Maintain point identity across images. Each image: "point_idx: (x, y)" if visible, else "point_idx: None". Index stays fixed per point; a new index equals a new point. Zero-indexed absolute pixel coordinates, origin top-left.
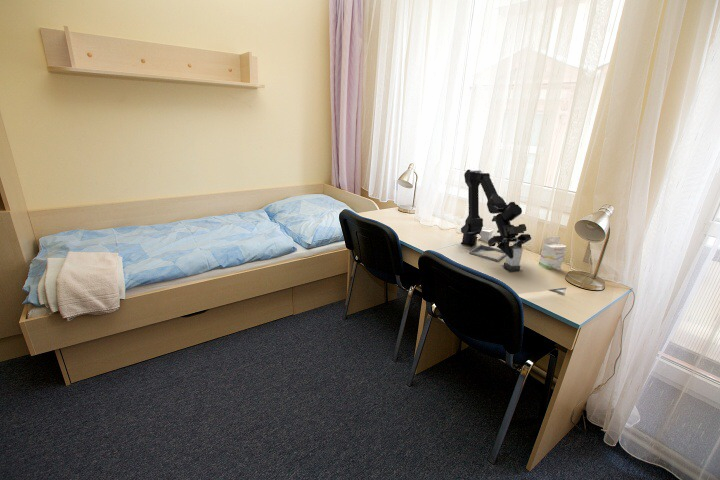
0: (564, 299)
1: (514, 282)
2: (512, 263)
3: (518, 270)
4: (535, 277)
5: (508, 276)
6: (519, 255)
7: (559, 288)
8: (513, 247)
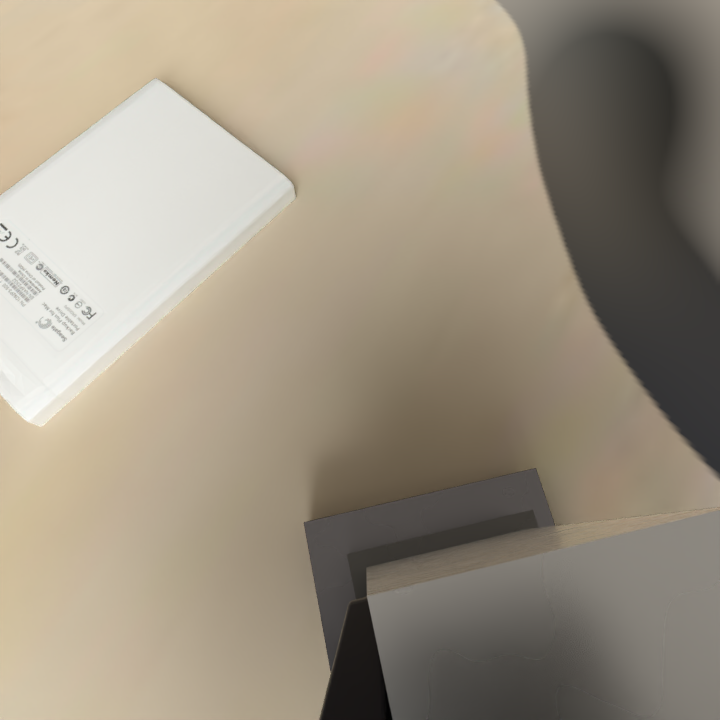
0: (209, 34)
1: (524, 298)
2: (531, 529)
3: (373, 541)
4: (191, 430)
5: (540, 449)
6: (431, 563)
7: (134, 136)
8: None
